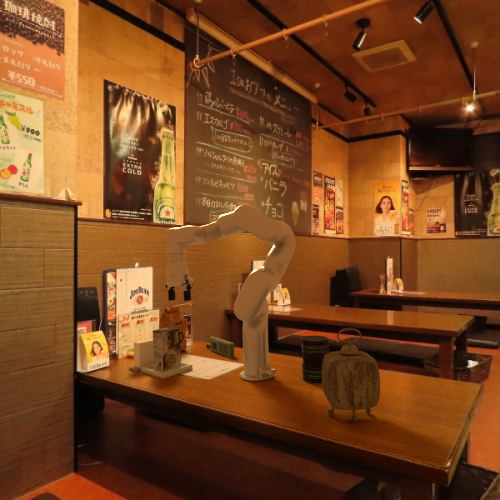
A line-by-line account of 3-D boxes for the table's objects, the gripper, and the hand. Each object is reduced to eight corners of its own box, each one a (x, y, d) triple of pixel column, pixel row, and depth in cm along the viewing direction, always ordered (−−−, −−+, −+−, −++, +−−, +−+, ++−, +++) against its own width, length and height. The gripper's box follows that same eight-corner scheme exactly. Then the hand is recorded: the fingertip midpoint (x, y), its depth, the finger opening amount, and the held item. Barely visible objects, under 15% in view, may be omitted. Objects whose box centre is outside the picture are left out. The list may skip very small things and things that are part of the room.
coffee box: (171, 365, 171) (170, 326, 171) (181, 367, 167) (180, 328, 167) (153, 370, 164) (152, 330, 164) (163, 373, 160) (161, 331, 160)
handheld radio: (229, 358, 184) (203, 348, 204) (235, 357, 185) (209, 347, 206) (229, 343, 184) (204, 335, 205) (235, 342, 186) (209, 334, 206)
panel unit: (176, 361, 181) (175, 336, 181) (137, 371, 166) (136, 344, 166) (168, 359, 185) (167, 334, 185) (128, 369, 170) (128, 342, 170)
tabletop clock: (372, 411, 118) (369, 324, 118) (384, 424, 109) (380, 330, 109) (322, 413, 118) (320, 326, 118) (330, 426, 109) (327, 332, 109)
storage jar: (298, 381, 147) (297, 339, 147) (307, 374, 156) (306, 334, 156) (325, 385, 142) (323, 342, 143) (333, 377, 151) (332, 336, 151)
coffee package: (190, 350, 201) (188, 305, 201) (172, 356, 190) (170, 308, 190) (174, 348, 206) (173, 304, 206) (156, 353, 195) (155, 307, 196)
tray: (192, 369, 167) (192, 364, 167) (162, 378, 155) (161, 373, 155) (171, 364, 176) (171, 359, 176) (141, 372, 165) (140, 367, 165)
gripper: (156, 259, 169) (159, 301, 169) (183, 257, 158) (186, 302, 157) (170, 259, 175) (173, 299, 174) (198, 256, 163) (201, 299, 163)
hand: (179, 300), depth 166 cm, fingers open, 9 cm apart
